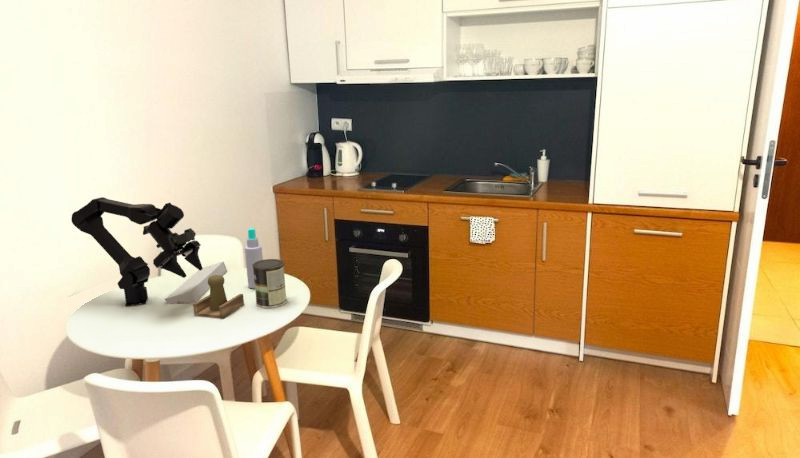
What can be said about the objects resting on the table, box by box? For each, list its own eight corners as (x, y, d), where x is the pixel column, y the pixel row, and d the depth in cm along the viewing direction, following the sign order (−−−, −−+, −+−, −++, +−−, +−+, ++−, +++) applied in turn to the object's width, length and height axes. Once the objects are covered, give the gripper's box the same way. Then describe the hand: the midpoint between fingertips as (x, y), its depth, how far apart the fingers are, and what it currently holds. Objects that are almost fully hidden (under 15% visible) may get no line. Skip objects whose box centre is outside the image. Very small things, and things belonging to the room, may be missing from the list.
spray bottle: (258, 282, 213) (253, 226, 208) (268, 285, 209) (263, 228, 204) (245, 287, 209) (239, 229, 203) (254, 290, 205) (249, 231, 200)
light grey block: (169, 311, 196) (196, 303, 195) (164, 299, 194) (190, 291, 193) (205, 279, 229) (227, 272, 228) (200, 268, 228) (223, 261, 227)
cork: (206, 307, 187) (202, 276, 184) (223, 302, 191) (220, 271, 188) (214, 312, 183) (210, 280, 180) (231, 307, 187) (228, 275, 184)
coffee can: (253, 309, 187) (249, 268, 184) (259, 298, 197) (255, 259, 194) (284, 307, 188) (281, 267, 185) (288, 296, 198) (285, 258, 195)
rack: (194, 315, 183) (192, 304, 182) (216, 302, 194) (215, 291, 193) (223, 318, 180) (222, 307, 179) (244, 305, 191) (243, 294, 190)
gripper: (160, 227, 175) (192, 266, 175) (195, 217, 193) (224, 252, 193) (139, 248, 179) (170, 286, 179) (175, 236, 196) (203, 271, 196)
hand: (193, 273), depth 187 cm, fingers open, 9 cm apart
